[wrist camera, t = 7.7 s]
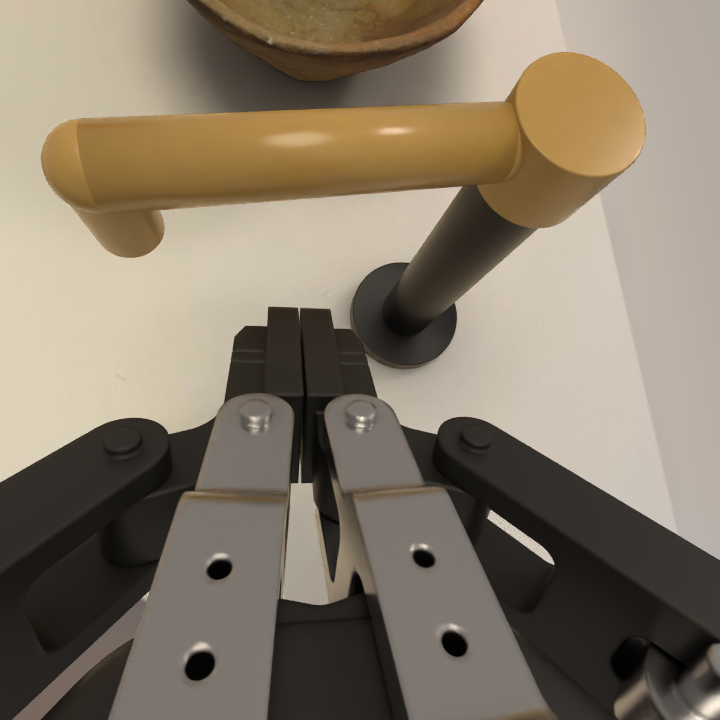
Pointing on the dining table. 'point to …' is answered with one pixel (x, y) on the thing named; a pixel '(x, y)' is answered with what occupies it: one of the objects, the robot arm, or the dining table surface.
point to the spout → (355, 153)
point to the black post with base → (432, 283)
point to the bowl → (334, 31)
